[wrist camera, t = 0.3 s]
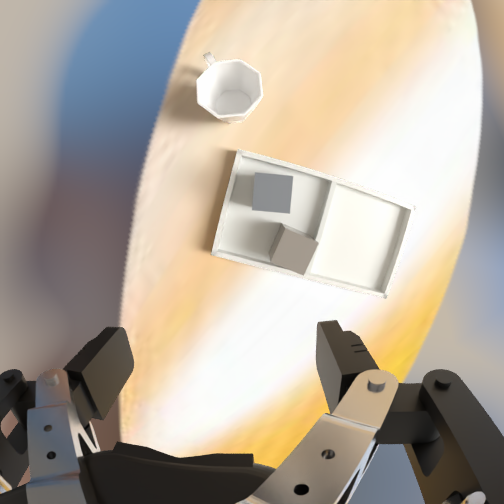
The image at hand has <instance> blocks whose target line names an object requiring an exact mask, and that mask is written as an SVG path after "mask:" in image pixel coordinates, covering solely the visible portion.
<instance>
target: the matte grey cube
mask: <svg viewBox="0 0 504 504" xmlns="http://www.w3.org/2000/svg"><path fill="white" fill-rule="evenodd" d="M292 185H293V176H289V175H279V174H268V173H257V172H255V178H254V190H253V202H252V210H254V211H266V212H277V213H288V214H290V207H291V196H292Z"/></svg>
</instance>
